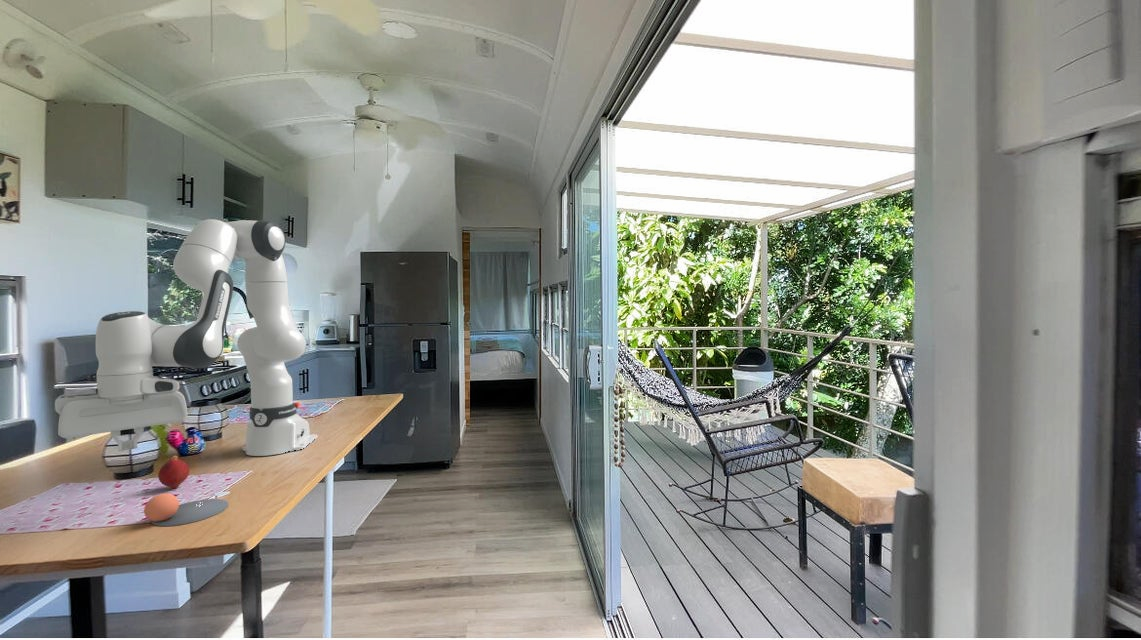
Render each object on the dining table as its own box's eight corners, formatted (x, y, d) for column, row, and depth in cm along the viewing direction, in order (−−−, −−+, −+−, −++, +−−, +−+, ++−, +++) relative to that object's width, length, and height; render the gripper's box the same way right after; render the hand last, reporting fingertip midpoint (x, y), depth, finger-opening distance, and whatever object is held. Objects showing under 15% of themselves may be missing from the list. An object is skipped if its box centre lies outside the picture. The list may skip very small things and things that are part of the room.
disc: (186, 500, 108) (186, 499, 108) (242, 499, 108) (242, 498, 108) (133, 526, 95) (133, 525, 95) (197, 526, 95) (197, 525, 95)
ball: (179, 522, 99) (161, 514, 100) (189, 496, 100) (171, 488, 101) (151, 527, 94) (132, 518, 95) (162, 500, 94) (144, 491, 96)
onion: (171, 493, 112) (170, 460, 111) (152, 491, 113) (151, 459, 113) (195, 484, 117) (194, 453, 117) (177, 482, 118) (176, 451, 118)
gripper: (54, 395, 90) (56, 464, 91) (188, 382, 106) (189, 441, 106) (54, 391, 95) (56, 458, 95) (182, 379, 110) (184, 436, 110)
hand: (127, 449), depth 101 cm, fingers closed
